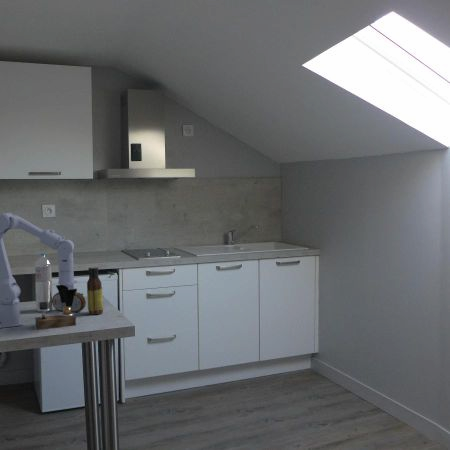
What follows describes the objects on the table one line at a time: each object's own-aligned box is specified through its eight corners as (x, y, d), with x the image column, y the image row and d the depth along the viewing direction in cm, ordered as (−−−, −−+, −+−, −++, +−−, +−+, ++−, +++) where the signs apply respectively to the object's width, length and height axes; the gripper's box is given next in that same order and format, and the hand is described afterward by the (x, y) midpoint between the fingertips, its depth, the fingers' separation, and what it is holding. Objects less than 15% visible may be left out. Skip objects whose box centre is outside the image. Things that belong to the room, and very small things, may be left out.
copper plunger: (62, 325, 236) (62, 309, 235) (59, 322, 240) (58, 307, 239) (75, 324, 238) (74, 308, 237) (71, 321, 242) (71, 305, 242)
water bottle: (53, 311, 259) (52, 254, 257) (36, 313, 257) (35, 254, 254) (51, 308, 265) (50, 252, 263) (35, 309, 263) (34, 252, 261)
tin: (86, 311, 260) (85, 292, 259) (82, 313, 257) (82, 293, 256) (55, 309, 264) (54, 290, 263) (51, 311, 261) (50, 291, 260)
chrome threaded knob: (38, 320, 231) (38, 304, 230) (35, 317, 235) (35, 301, 235) (51, 319, 233) (51, 302, 233) (48, 316, 238) (48, 300, 237)
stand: (39, 329, 230) (39, 321, 230) (35, 325, 236) (35, 317, 236) (75, 325, 237) (75, 317, 237) (71, 321, 243) (71, 313, 243)
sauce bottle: (104, 311, 260) (103, 265, 258) (101, 315, 254) (101, 268, 252) (88, 311, 260) (88, 265, 258) (86, 315, 253) (85, 268, 252)
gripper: (81, 272, 233) (81, 307, 234) (71, 267, 245) (71, 299, 246) (62, 273, 229) (63, 309, 230) (53, 268, 242) (54, 301, 243)
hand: (66, 304), depth 238 cm, fingers open, 7 cm apart
